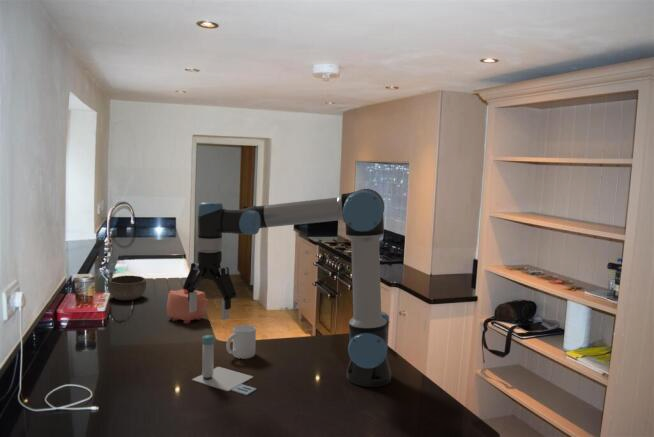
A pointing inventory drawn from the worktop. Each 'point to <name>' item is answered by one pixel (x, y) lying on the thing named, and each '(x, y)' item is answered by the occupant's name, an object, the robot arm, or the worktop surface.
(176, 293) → the teapot
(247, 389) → the word card
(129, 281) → the bowl
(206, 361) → the marker
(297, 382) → the worktop surface
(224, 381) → the paper
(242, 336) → the mug
